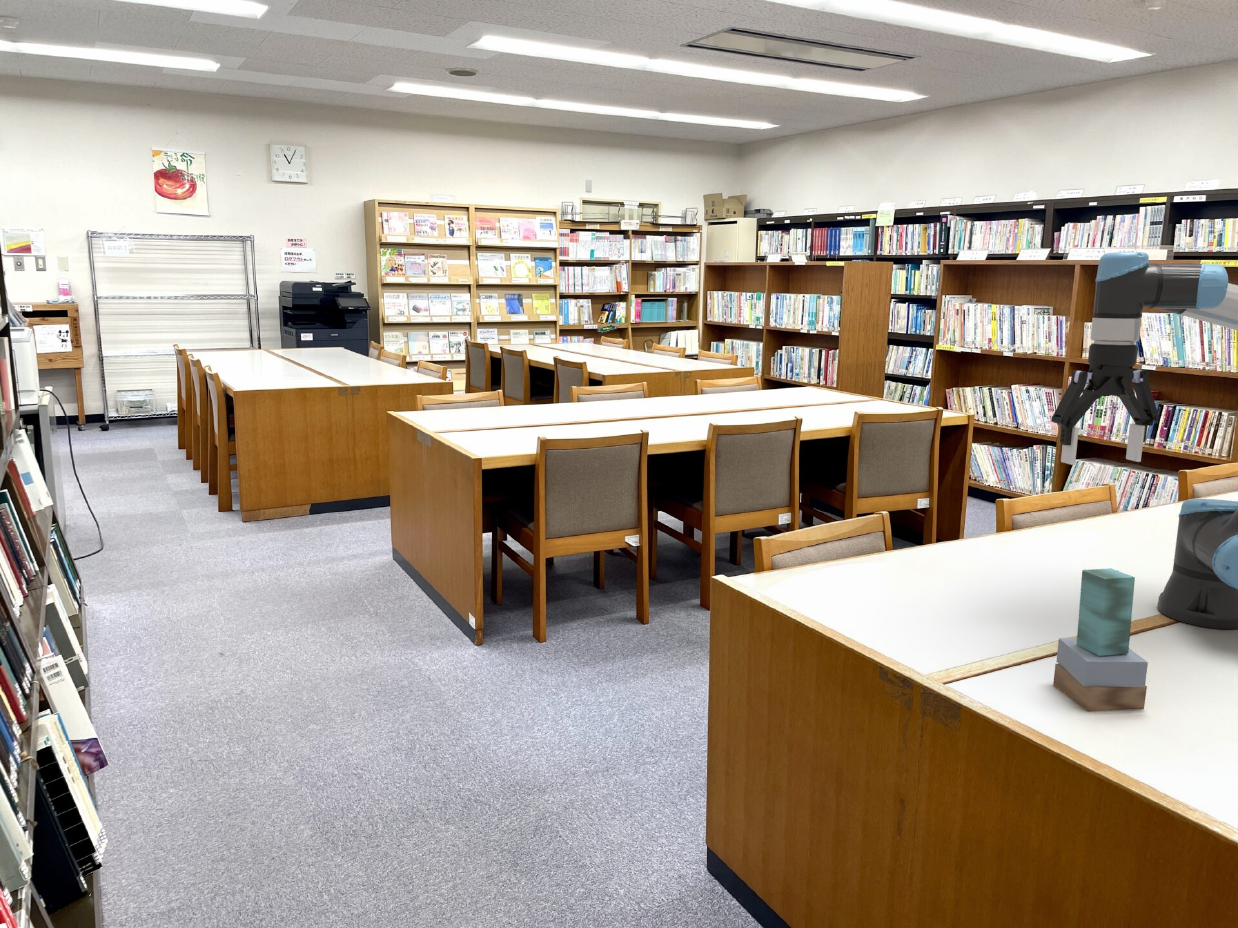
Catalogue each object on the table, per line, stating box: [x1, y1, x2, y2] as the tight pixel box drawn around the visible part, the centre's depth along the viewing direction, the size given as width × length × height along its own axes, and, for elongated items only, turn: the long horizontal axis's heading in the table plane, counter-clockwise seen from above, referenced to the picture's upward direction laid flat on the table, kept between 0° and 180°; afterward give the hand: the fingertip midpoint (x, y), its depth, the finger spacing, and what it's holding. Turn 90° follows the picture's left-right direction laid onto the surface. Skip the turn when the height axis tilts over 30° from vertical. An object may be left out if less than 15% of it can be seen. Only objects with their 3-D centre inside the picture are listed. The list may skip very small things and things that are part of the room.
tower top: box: [1056, 637, 1149, 687], centre depth 136 cm, size 9×9×4 cm
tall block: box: [1076, 567, 1136, 656], centre depth 135 cm, size 5×5×12 cm
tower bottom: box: [1052, 663, 1148, 713], centre depth 137 cm, size 9×9×4 cm
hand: (1100, 461), depth 159 cm, fingers open, 13 cm apart
